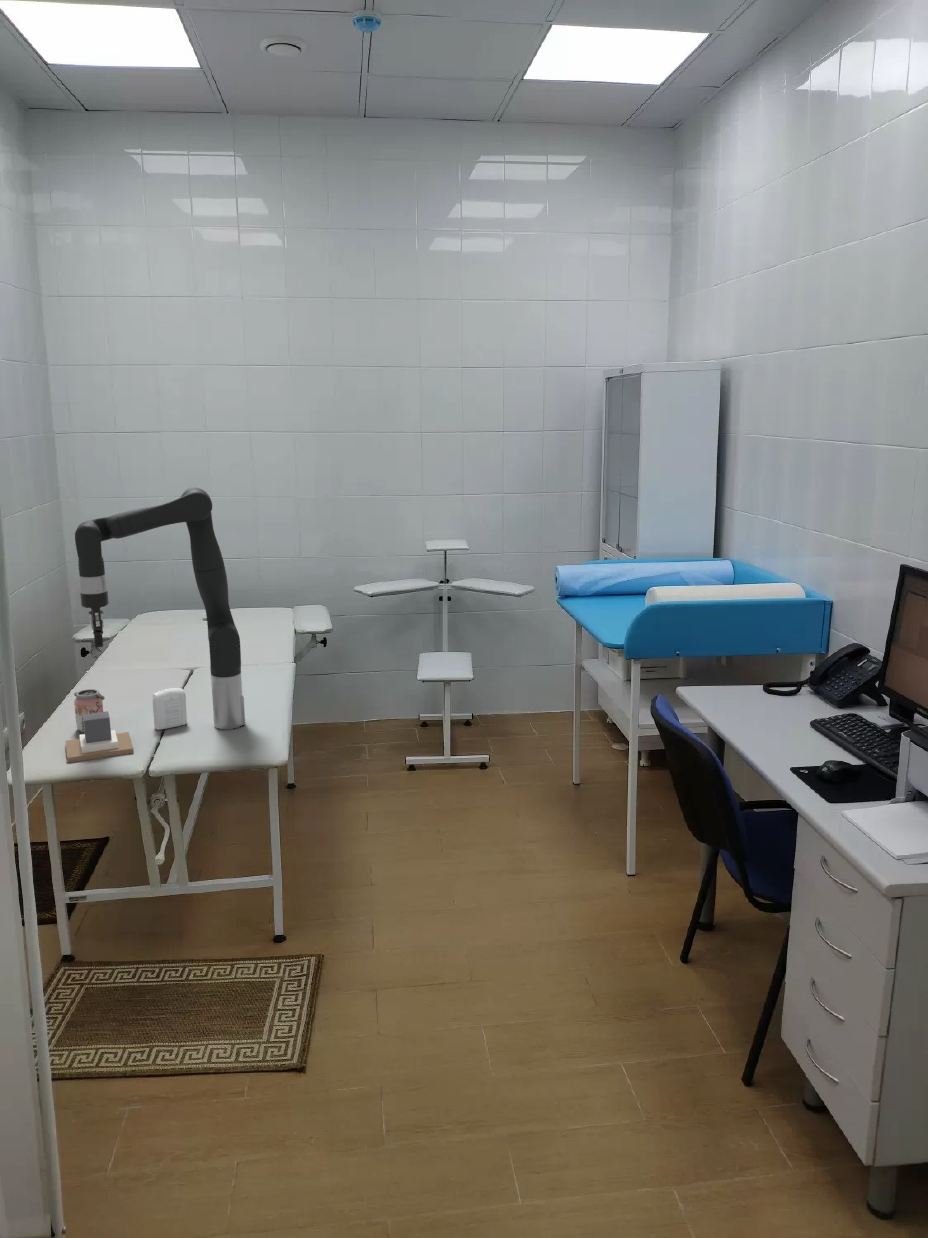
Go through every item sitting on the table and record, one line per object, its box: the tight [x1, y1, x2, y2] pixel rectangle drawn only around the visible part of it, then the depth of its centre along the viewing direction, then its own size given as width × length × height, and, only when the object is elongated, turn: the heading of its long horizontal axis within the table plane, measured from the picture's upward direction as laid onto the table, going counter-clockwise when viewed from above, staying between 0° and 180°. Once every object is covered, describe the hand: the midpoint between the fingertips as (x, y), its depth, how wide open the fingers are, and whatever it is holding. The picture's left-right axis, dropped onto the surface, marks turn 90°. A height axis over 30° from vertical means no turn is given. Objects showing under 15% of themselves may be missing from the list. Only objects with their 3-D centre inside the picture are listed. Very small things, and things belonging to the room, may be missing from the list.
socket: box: [65, 729, 134, 764], centre depth 280 cm, size 18×14×4 cm
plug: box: [83, 711, 112, 743], centre depth 279 cm, size 7×6×8 cm
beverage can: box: [73, 688, 105, 734], centre depth 295 cm, size 9×8×12 cm
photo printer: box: [152, 687, 188, 731], centre depth 297 cm, size 10×4×12 cm, turn 125°
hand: (99, 646), depth 282 cm, fingers closed
